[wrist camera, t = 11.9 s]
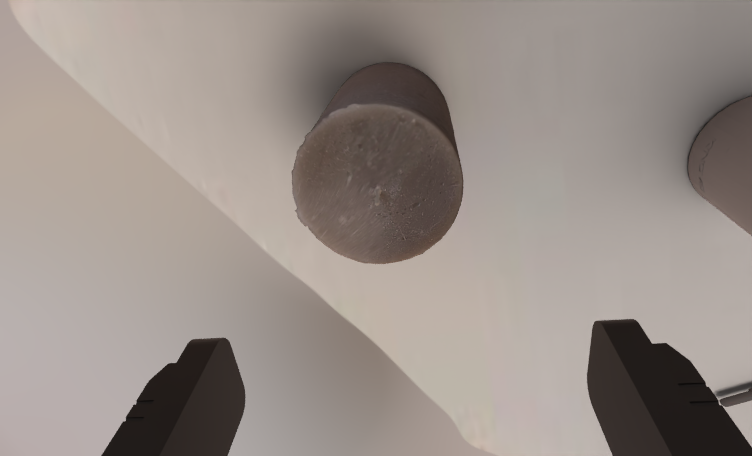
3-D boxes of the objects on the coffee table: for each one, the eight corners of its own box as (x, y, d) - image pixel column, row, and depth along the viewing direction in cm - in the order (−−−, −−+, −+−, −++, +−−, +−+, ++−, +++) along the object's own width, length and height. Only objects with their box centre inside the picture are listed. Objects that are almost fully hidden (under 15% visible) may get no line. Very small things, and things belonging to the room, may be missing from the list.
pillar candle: (469, 147, 40) (499, 233, 26) (366, 199, 42) (345, 302, 29) (413, 35, 36) (413, 69, 23) (304, 100, 39) (247, 165, 25)
